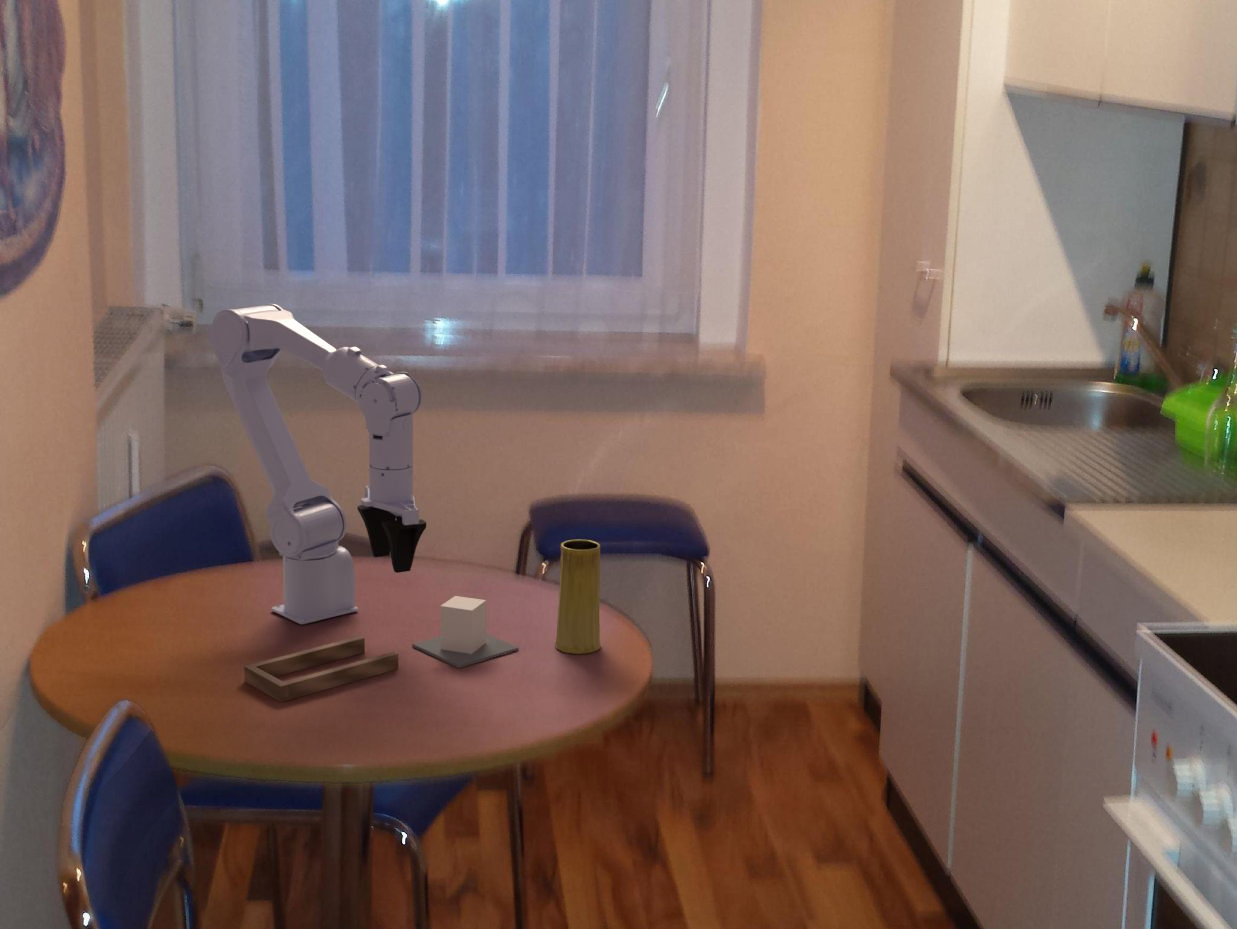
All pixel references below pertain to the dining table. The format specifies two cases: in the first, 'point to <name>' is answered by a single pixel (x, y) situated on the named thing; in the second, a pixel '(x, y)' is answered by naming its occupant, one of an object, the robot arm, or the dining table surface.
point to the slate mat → (464, 659)
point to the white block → (463, 624)
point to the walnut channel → (282, 691)
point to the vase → (579, 597)
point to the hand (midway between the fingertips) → (391, 563)
